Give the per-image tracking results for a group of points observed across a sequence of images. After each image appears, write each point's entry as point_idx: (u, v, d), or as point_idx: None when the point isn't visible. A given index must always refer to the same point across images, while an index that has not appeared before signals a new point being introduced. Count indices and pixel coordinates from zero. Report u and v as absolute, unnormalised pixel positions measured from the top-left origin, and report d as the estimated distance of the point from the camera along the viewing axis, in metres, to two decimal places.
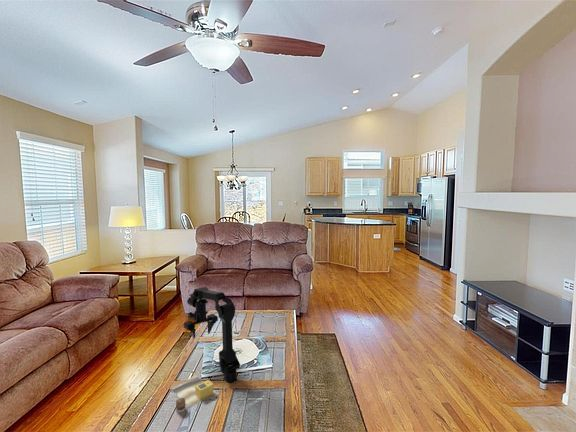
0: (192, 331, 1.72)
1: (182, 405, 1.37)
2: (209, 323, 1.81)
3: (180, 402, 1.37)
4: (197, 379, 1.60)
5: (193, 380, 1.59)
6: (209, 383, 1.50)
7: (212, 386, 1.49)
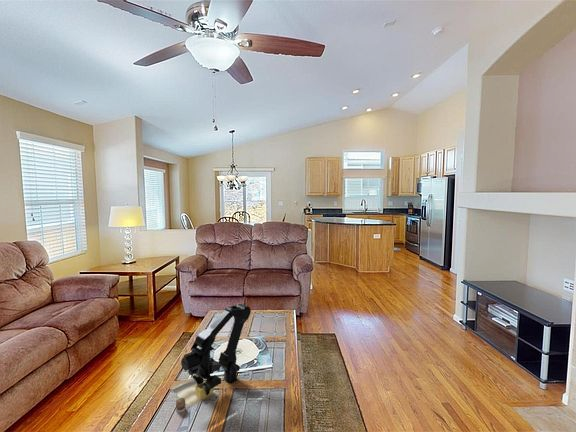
0: (194, 379, 1.49)
1: (182, 405, 1.37)
2: None
3: (180, 402, 1.37)
4: None
5: (193, 380, 1.59)
6: None
7: None
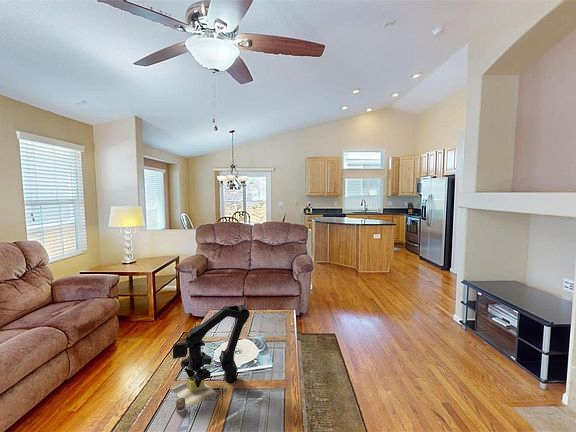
0: None
1: (182, 405, 1.37)
2: None
3: (180, 402, 1.37)
4: None
5: None
6: None
7: None
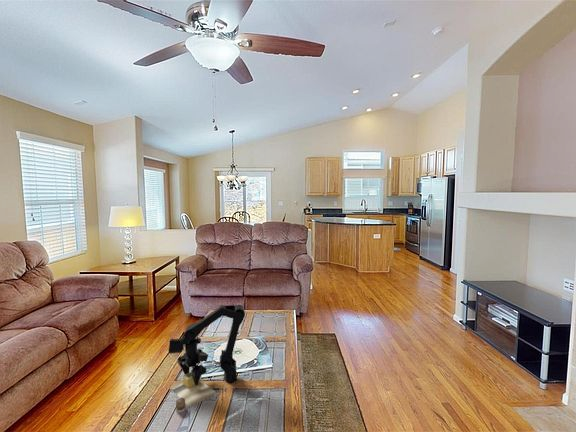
0: (180, 366, 1.60)
1: (182, 405, 1.37)
2: None
3: (180, 402, 1.37)
4: None
5: None
6: None
7: None
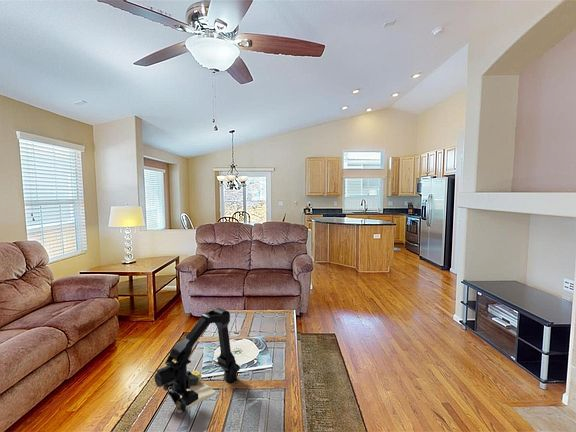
0: None
1: None
2: None
3: None
4: None
5: None
6: (196, 373, 1.58)
7: (199, 376, 1.57)
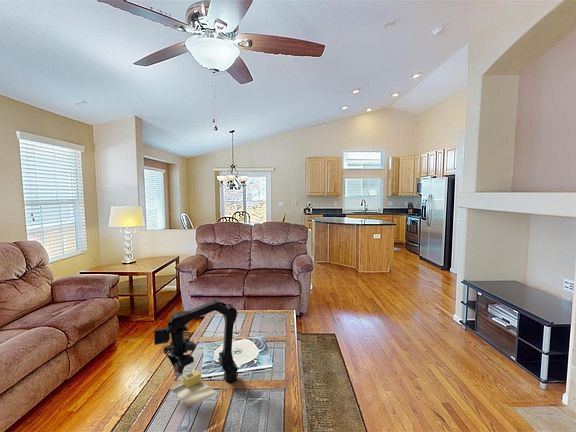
0: None
1: None
2: None
3: None
4: None
5: None
6: (196, 373, 1.58)
7: (199, 376, 1.57)
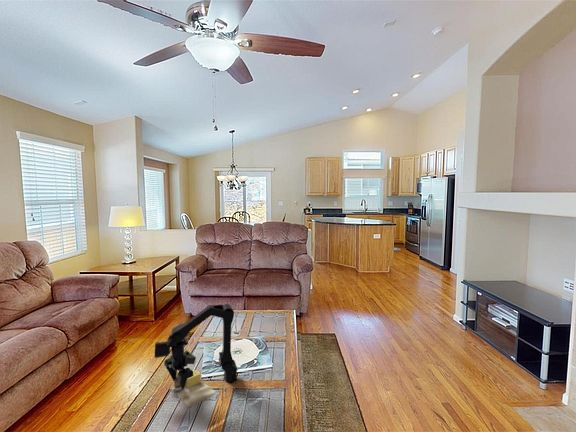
0: None
1: None
2: None
3: None
4: None
5: None
6: (196, 373, 1.58)
7: (199, 376, 1.57)
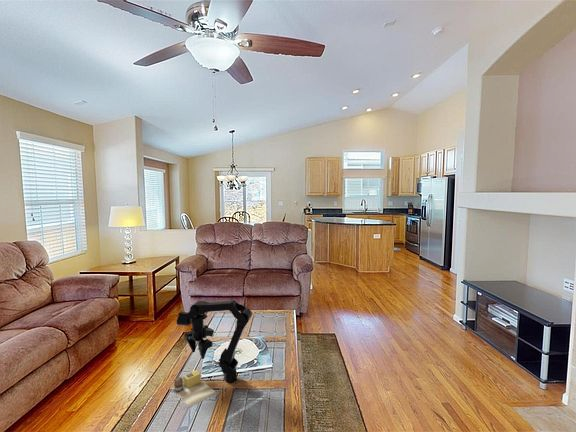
0: (187, 341, 1.65)
1: (179, 383, 1.50)
2: None
3: (178, 380, 1.51)
4: None
5: None
6: (196, 373, 1.58)
7: (199, 376, 1.57)
